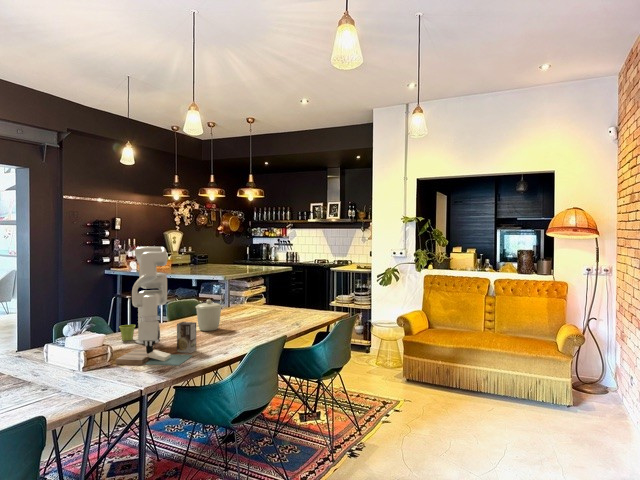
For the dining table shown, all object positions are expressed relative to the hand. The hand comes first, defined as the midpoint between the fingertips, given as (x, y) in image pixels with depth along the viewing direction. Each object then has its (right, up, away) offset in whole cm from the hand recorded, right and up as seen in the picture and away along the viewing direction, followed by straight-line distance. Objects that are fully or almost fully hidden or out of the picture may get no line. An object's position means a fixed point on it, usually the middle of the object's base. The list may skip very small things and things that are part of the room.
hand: (149, 352), depth 232 cm
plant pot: (-30, -3, +42) cm, 52 cm away
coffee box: (+15, -4, +17) cm, 22 cm away
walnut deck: (-6, -3, +1) cm, 7 cm away
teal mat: (+11, -4, -1) cm, 11 cm away
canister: (+13, -3, +73) cm, 74 cm away
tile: (+5, -2, -1) cm, 6 cm away
